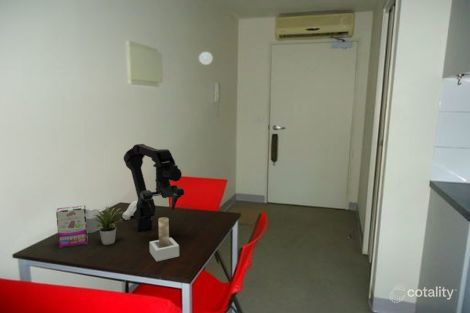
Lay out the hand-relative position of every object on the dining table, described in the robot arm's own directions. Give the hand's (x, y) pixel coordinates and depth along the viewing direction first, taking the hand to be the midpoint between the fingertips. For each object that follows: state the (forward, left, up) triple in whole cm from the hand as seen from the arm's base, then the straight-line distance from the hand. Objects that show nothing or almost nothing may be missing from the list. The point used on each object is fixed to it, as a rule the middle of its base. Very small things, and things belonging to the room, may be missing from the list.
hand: (163, 211), depth 144 cm
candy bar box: (-38, +4, -13) cm, 40 cm away
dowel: (-1, -16, -12) cm, 20 cm away
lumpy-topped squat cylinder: (-34, +23, -13) cm, 43 cm away
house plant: (-24, +1, -13) cm, 27 cm away
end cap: (-1, -16, -13) cm, 21 cm away
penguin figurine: (-14, +33, -13) cm, 38 cm away
